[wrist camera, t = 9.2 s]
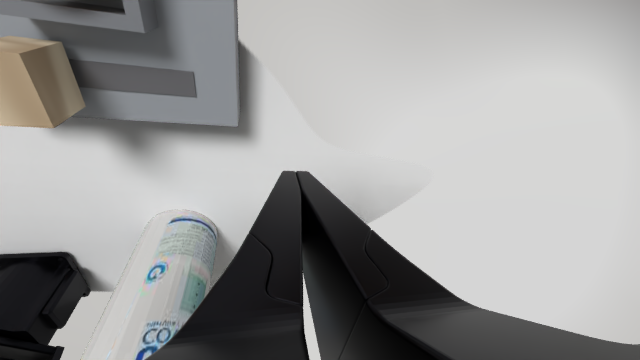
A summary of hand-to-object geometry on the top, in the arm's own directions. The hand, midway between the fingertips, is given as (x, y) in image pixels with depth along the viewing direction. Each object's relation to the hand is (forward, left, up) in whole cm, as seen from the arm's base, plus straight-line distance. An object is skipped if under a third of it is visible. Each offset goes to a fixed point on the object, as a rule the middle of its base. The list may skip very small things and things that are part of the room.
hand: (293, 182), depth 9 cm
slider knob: (-11, 0, -9) cm, 15 cm away
